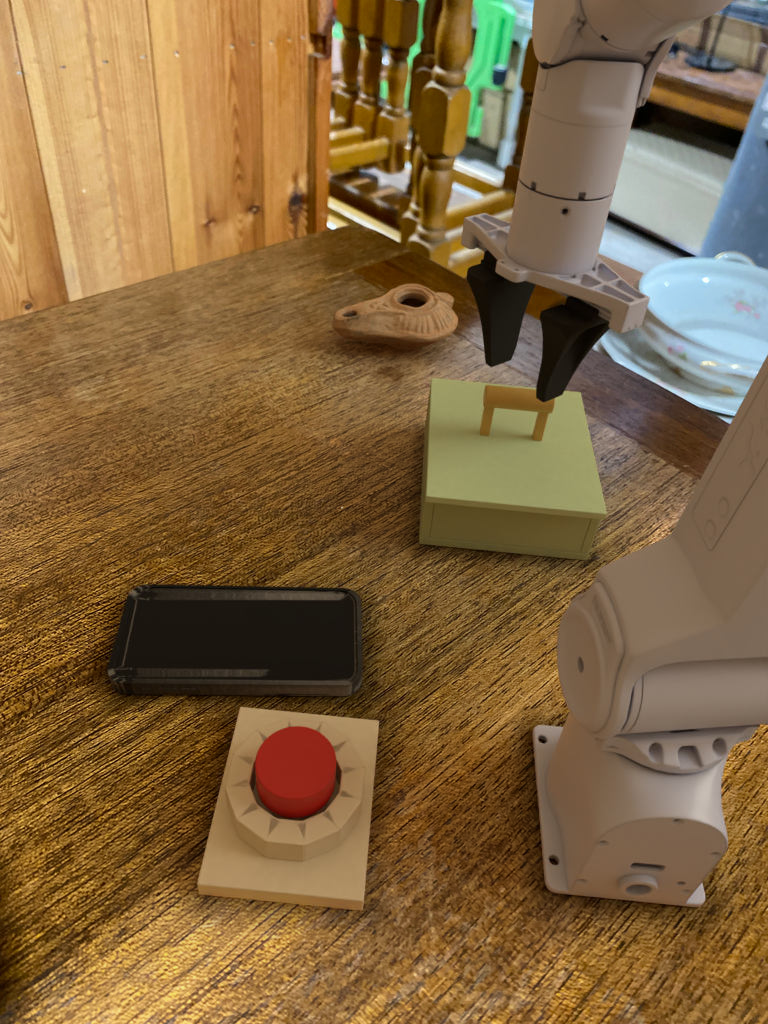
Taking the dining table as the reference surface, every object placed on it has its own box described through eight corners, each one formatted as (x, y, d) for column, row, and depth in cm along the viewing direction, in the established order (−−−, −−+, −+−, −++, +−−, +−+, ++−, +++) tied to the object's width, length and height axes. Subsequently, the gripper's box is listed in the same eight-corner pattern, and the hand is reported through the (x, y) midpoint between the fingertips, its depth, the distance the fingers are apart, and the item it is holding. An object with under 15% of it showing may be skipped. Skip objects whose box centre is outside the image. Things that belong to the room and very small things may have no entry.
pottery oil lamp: (317, 326, 79) (337, 256, 78) (422, 357, 84) (443, 293, 82) (339, 339, 72) (362, 262, 70) (452, 373, 76) (477, 302, 74)
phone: (130, 583, 51) (360, 587, 52) (133, 595, 51) (360, 599, 53) (102, 684, 45) (363, 686, 46) (106, 696, 46) (362, 698, 47)
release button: (330, 822, 38) (331, 802, 37) (249, 814, 38) (247, 794, 37) (339, 750, 41) (340, 729, 40) (264, 742, 41) (263, 721, 40)
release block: (362, 911, 38) (365, 885, 36) (198, 894, 38) (192, 867, 36) (377, 731, 45) (381, 701, 43) (241, 717, 45) (238, 687, 43)
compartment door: (605, 520, 53) (624, 466, 50) (425, 502, 53) (432, 447, 50) (579, 398, 65) (593, 347, 62) (430, 383, 65) (437, 332, 62)
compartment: (587, 560, 57) (603, 513, 54) (418, 544, 57) (425, 495, 54) (566, 443, 68) (578, 398, 65) (424, 429, 68) (430, 384, 65)
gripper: (437, 155, 49) (416, 347, 58) (615, 240, 41) (558, 449, 50) (518, 141, 52) (486, 324, 61) (697, 216, 44) (629, 415, 53)
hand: (523, 378), depth 56 cm, fingers open, 5 cm apart
